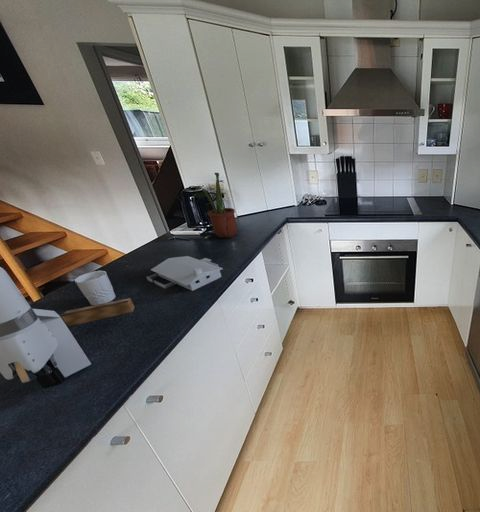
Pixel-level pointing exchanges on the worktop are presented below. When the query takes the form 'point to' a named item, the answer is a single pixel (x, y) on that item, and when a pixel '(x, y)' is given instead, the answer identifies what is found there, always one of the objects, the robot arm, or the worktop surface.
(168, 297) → the worktop surface
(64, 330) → the milk carton
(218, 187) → the potted plant
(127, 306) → the rail
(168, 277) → the grey portable case
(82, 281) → the white cup
